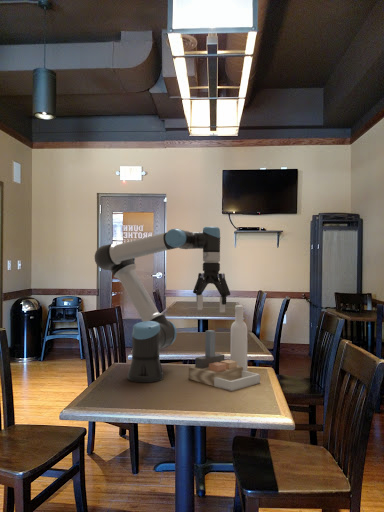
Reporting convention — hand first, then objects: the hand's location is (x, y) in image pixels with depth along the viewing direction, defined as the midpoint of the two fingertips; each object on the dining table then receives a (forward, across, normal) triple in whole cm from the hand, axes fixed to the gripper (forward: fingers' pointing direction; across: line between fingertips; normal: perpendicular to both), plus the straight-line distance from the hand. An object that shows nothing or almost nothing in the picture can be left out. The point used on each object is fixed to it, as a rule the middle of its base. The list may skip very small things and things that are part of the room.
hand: (210, 311), depth 182 cm
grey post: (+24, 0, 0) cm, 24 cm away
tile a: (+24, +7, -3) cm, 25 cm away
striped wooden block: (+28, +3, 0) cm, 29 cm away
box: (+28, +15, 0) cm, 32 cm away
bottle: (+29, +1, +18) cm, 34 cm away
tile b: (+24, +7, +4) cm, 25 cm away
